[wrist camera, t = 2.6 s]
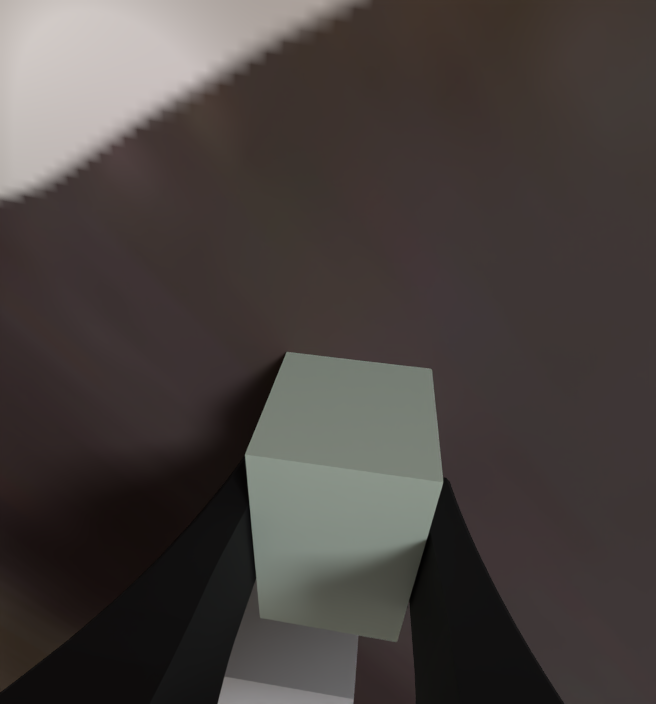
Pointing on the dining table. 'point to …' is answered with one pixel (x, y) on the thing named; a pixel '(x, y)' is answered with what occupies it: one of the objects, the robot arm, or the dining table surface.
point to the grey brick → (288, 663)
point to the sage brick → (343, 492)
